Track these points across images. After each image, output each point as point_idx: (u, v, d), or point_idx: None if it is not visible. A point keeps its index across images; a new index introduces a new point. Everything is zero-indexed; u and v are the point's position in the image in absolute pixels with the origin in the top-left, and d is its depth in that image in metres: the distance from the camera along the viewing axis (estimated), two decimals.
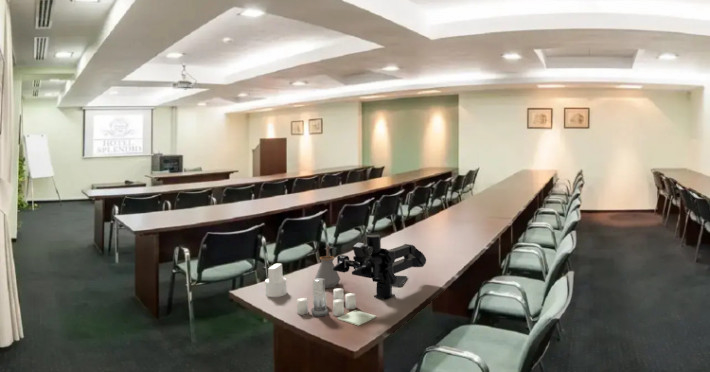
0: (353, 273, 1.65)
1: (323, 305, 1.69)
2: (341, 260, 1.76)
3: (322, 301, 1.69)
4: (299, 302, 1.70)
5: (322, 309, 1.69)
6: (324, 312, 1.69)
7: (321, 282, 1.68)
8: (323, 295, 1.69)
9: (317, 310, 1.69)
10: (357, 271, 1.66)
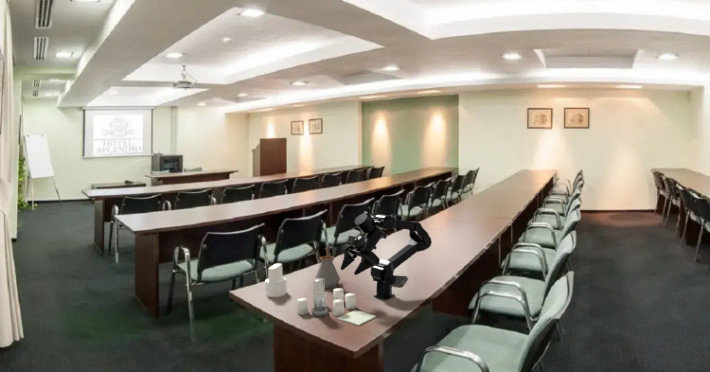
0: (356, 274, 1.73)
1: (323, 305, 1.69)
2: (345, 254, 1.83)
3: (322, 301, 1.69)
4: (299, 302, 1.70)
5: (322, 309, 1.69)
6: (324, 312, 1.69)
7: (321, 282, 1.68)
8: (323, 295, 1.69)
9: (317, 310, 1.69)
10: (358, 270, 1.73)
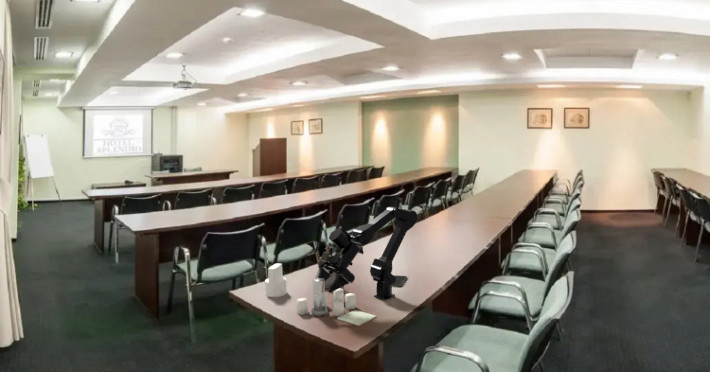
0: (330, 291, 1.67)
1: (323, 305, 1.69)
2: (320, 270, 1.77)
3: (322, 301, 1.69)
4: (299, 302, 1.70)
5: (322, 309, 1.69)
6: (324, 312, 1.69)
7: (321, 282, 1.68)
8: (323, 295, 1.69)
9: (317, 310, 1.69)
10: (333, 287, 1.67)
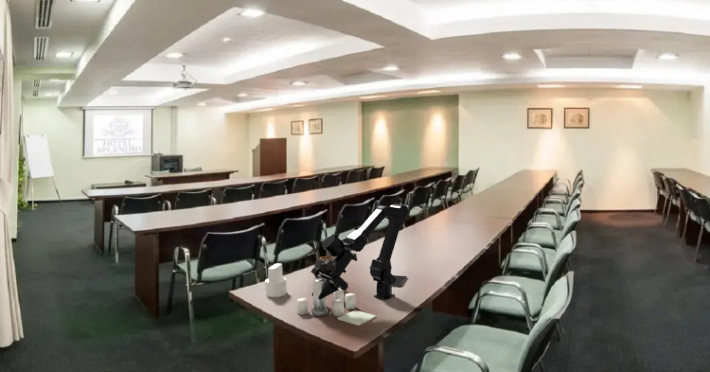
0: (320, 298, 1.68)
1: (323, 305, 1.69)
2: None
3: (322, 301, 1.69)
4: (299, 302, 1.70)
5: (322, 309, 1.69)
6: (324, 312, 1.69)
7: (321, 282, 1.68)
8: None
9: (317, 310, 1.69)
10: (323, 294, 1.68)
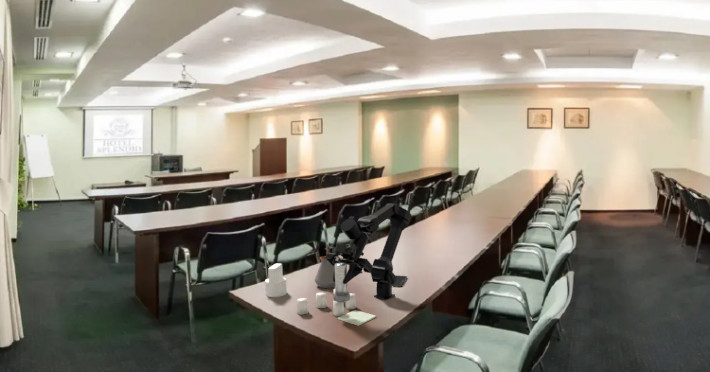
0: (345, 283, 1.63)
1: (346, 289, 1.65)
2: None
3: (346, 285, 1.65)
4: (299, 302, 1.70)
5: (346, 294, 1.65)
6: (348, 296, 1.65)
7: (345, 266, 1.64)
8: None
9: (341, 295, 1.64)
10: (347, 278, 1.64)
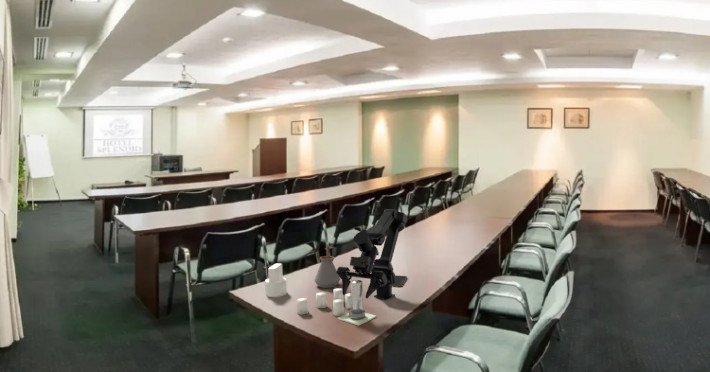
0: (367, 297, 1.62)
1: (362, 307, 1.65)
2: (343, 277, 1.68)
3: (362, 303, 1.64)
4: (299, 302, 1.70)
5: (362, 311, 1.65)
6: (364, 314, 1.65)
7: (361, 283, 1.64)
8: (362, 296, 1.65)
9: (358, 313, 1.63)
10: (369, 292, 1.62)
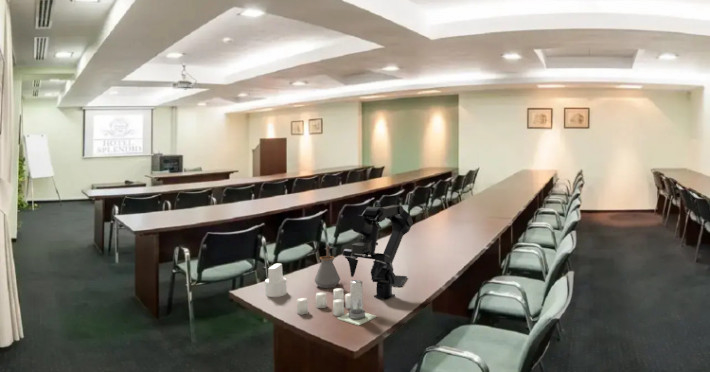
0: (373, 279, 1.71)
1: (362, 307, 1.65)
2: (350, 260, 1.76)
3: (362, 303, 1.64)
4: (299, 302, 1.70)
5: (362, 311, 1.65)
6: (364, 314, 1.65)
7: (361, 283, 1.64)
8: (362, 296, 1.65)
9: (358, 313, 1.63)
10: (374, 275, 1.71)
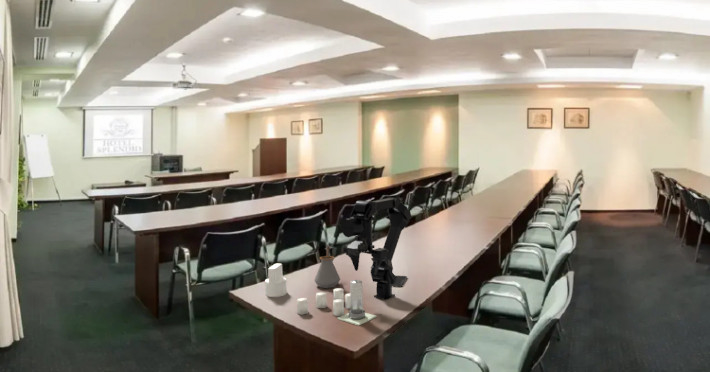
0: (375, 273, 1.75)
1: (362, 307, 1.65)
2: (351, 256, 1.80)
3: (362, 303, 1.64)
4: (299, 302, 1.70)
5: (362, 311, 1.65)
6: (364, 314, 1.65)
7: (361, 283, 1.64)
8: (362, 296, 1.65)
9: (358, 313, 1.63)
10: (376, 269, 1.74)
